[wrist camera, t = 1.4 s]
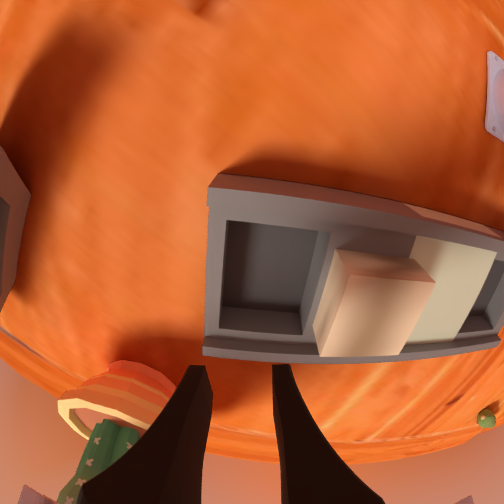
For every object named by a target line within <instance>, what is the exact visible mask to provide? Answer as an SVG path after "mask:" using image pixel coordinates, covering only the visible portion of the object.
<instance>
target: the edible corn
mask: <svg viewBox="0 0 504 504" xmlns="http://www.w3.org/2000/svg"><path fill="white" fill-rule="evenodd" d="M495 419H496V418H495V415H494V413H493V412H492V411H491V410H489V409H484V410H483V411H481V412H480V413H479V414H478V417H477V423H478V424H479V425H480V426H481V427H482V428H492V427H494V426H495V424H496V421H495Z"/></svg>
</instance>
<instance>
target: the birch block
mask: <svg viewBox="0 0 504 504" xmlns="http://www.w3.org/2000/svg"><path fill="white" fill-rule="evenodd" d="M435 284H436V282H435V281H434V280H433V279H432V278H431V277H430V275H429V274H428V273H427V272H426V271H425V270H424V269H423V268H422V267H421V266H420V265H419V263H418V262H417V261H416V260H415V259H410V258H402V257H395V256H387V255H379V254H371V253H363V252H355V251H347V250H339V249H335V252H334V256H333V259H332V263H331V267H330V270H329V274H328V277H327V281H326V284H325V287H324V291H323V294H322V297H321V301H320V304H319V307H318V310H317V313H316V317H315V320H314V323H313V330H314V334H315V338H316V342H317V347H318V351H319V355H320V357H365V356H389V355H399V353H400V351H401V350H402V348H403V346H404V345H405V343H406V341H407V340H408V338H409V336H410V334H411V332H412V331H413V329H414V327H415V325H416V323H417V321H418V319H419V317H420V315H421V314H422V312H423V310H424V308H425V306H426V303H427V301H428V299H429V297H430V295H431V293H432V291H433V289H434V286H435Z"/></svg>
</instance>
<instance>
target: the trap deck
mask: <svg viewBox="0 0 504 504" xmlns="http://www.w3.org/2000/svg"><path fill="white" fill-rule="evenodd" d="M207 206H209V220H208V237H207V258H206V284H205V327H204V341H203V346H202V355H203V356H211V357H219V358H228V359H238V360H249V361H262V362H277V363H300V364H359V363H381V362H396V361H408V360H418V359H427V358H436V357H443V356H450V355H457V354H463V353H469V352H474V351H480V350H485V349H490V348H494V347H497V346H498V345H499V343H500V342H501V339H500V338H499V337H498V333H499V331H500V330H501V328H502V326H503V325H504V231H501V230H498V229H495V228H492V227H489V226H486V225H483V224H480V223H476V222H473V221H470V220H467V219H463V218H460V217H456V216H453V215H449V214H446V213H442V212H439V211H435V210H431V209H427V208H423V207H419V206H415V205H411V204H407V203H403V202H398V201H394V200H390V199H385V198H381V197H376V196H371V195H366V194H361V193H356V192H351V191H346V190H340V189H335V188H329V187H323V186H317V185H311V184H304V183H298V182H291V181H284V180H276V179H269V178H260V177H252V176H243V175H233V174H223V173H218V174H217V175H216V177H215V178H214V180H213V181H212V182H211V184H210V185H209V186H208V194H207ZM335 249H339V250H347V251H355V252H363V253H371V254H379V255H387V256H395V257H402V258H410V259H415V260H416V261H417V262H418V263H419V265H420V266H421V267H422V268H423V269H424V270H425V271H426V272H427V273H428V274H429V275H430V277H431V278H432V279H433V280H434V281H435V282H436V284H435V286H434V289H433V291H432V293H431V295H430V297H429V299H428V301H427V303H426V306H425V308H424V310H423V312H422V314H421V315H420V317H419V319H418V321H417V323H416V325H415V327H414V329H413V331H412V332H411V334H410V336H409V338H408V340H407V341H406V343H405V345H404V346H403V348H402V350H401V351H400V353H399V355H389V356H365V357H320V355H319V351H318V347H317V342H316V338H315V334H314V330H313V323H314V320H315V317H316V313H317V310H318V307H319V304H320V301H321V297H322V294H323V291H324V287H325V284H326V281H327V277H328V274H329V270H330V267H331V263H332V259H333V256H334V252H335Z"/></svg>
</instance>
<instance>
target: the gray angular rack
mask: <svg viewBox="0 0 504 504" xmlns="http://www.w3.org/2000/svg"><path fill="white" fill-rule="evenodd" d="M30 198H31V194H30V192H29V191H28V189H27V188H26V186H25V185H24V183H23V181H22V180H21V178H20V177H19V175H18V173H17V172H16V170H15V169H14V167H13V165H12V163H11V162H10V160H9V158H8V156H7V155H6V153H5V151H4V149H3V148H2V147H1V146H0V312H1V310H2V307H3V305H4V303H5V301H6V299H7V297H8V294H9V292H10V290H11V288H12V286H13V284H14V282H15V280H16V272H17V264H18V256H19V250H20V244H21V238H22V233H23V228H24V223H25V218H26V214H27V210H28V206H29V202H30Z"/></svg>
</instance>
